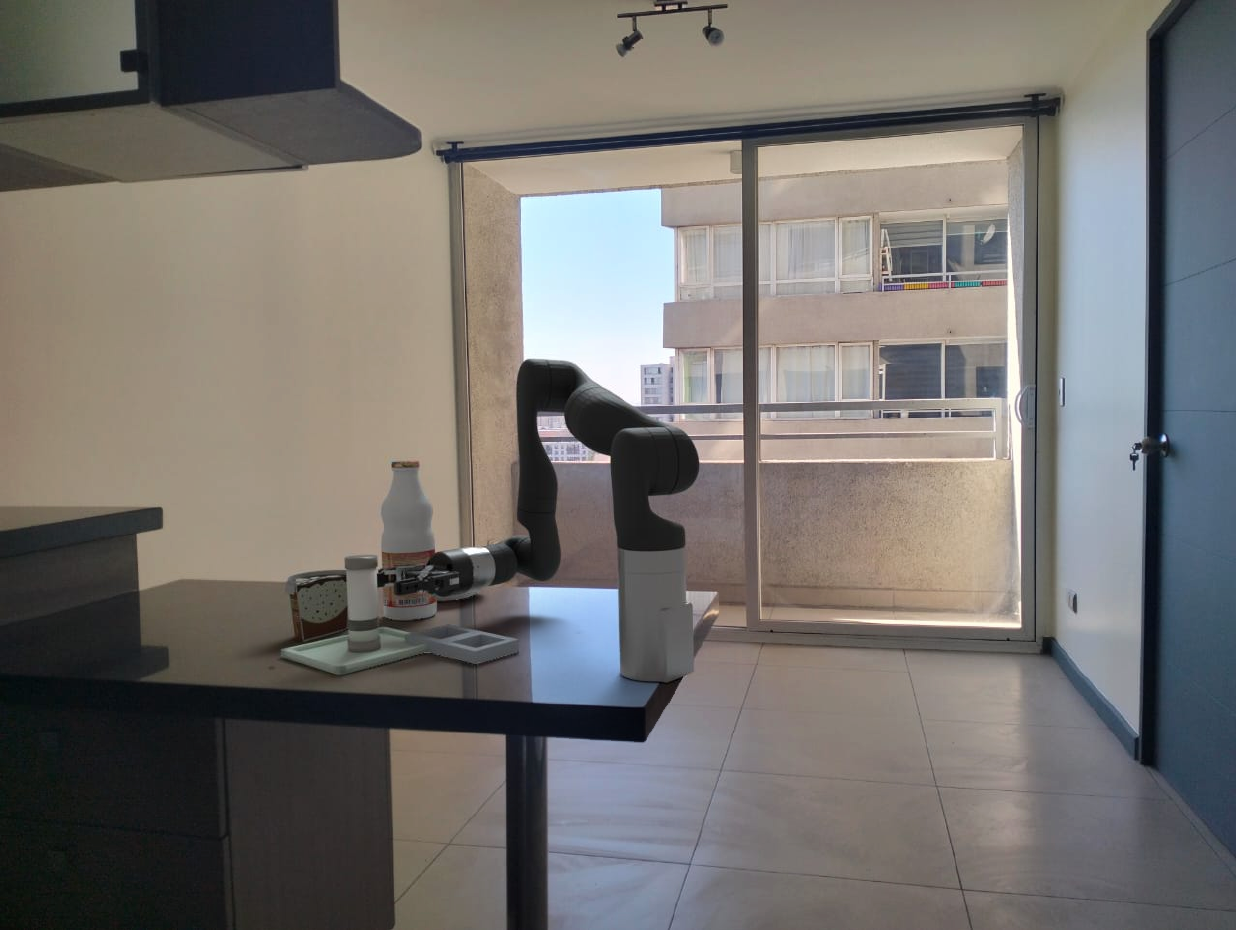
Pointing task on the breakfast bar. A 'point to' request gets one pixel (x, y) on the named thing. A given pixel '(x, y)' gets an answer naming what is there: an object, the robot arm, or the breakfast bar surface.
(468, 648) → the fuse block
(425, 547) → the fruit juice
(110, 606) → the breakfast bar surface
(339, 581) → the food container
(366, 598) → the grey-capped white cylinder
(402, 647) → the tray
